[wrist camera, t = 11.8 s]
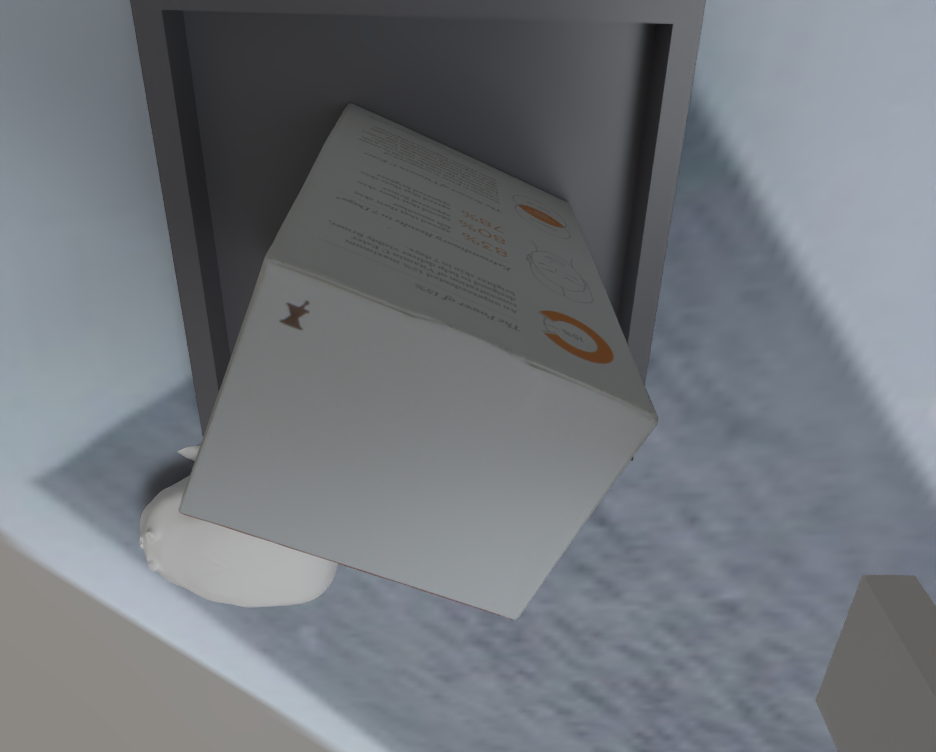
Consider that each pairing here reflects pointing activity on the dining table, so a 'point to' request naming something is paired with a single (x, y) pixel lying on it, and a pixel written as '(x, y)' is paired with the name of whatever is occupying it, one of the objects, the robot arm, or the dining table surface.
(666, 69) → the holder
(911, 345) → the dining table surface
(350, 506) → the small box
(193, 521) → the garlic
